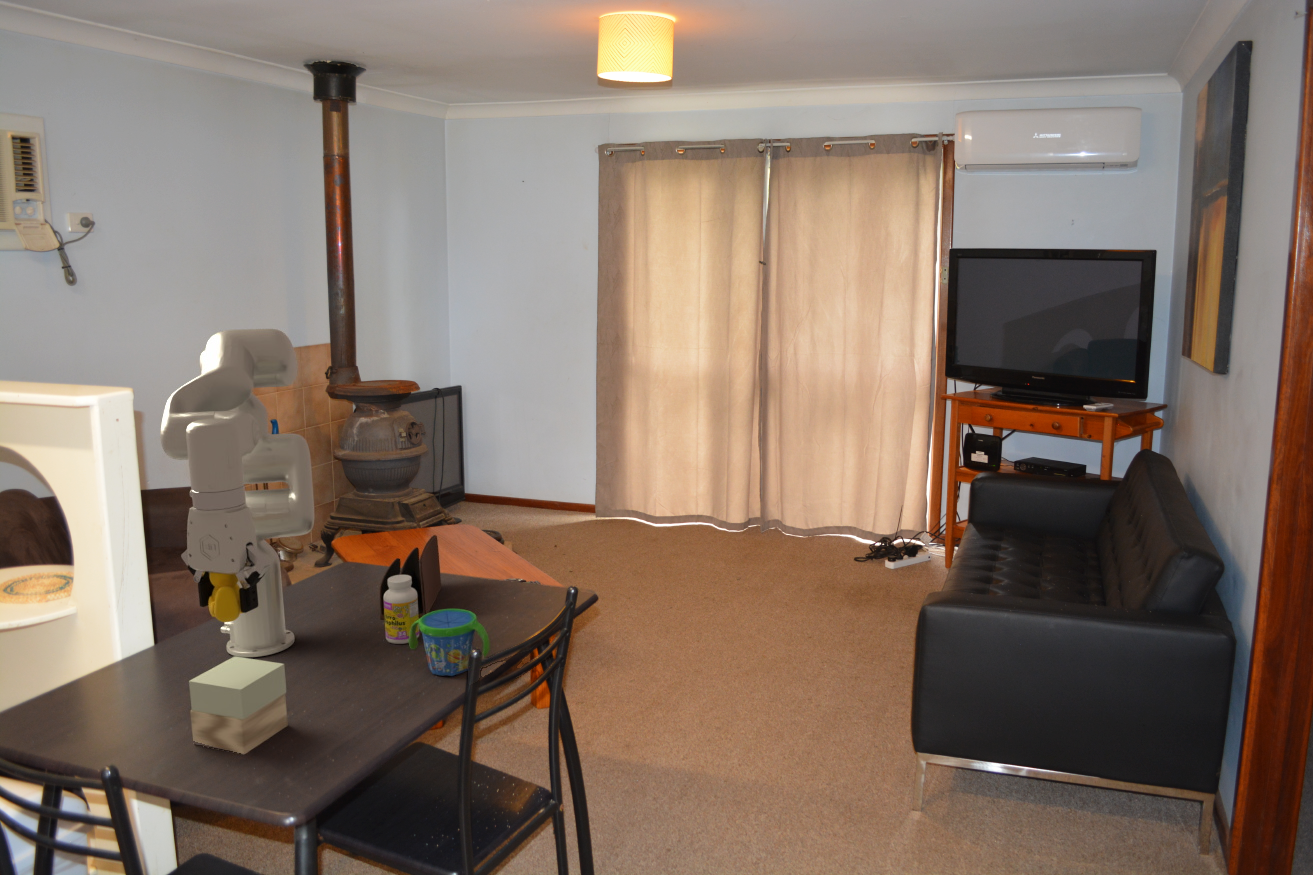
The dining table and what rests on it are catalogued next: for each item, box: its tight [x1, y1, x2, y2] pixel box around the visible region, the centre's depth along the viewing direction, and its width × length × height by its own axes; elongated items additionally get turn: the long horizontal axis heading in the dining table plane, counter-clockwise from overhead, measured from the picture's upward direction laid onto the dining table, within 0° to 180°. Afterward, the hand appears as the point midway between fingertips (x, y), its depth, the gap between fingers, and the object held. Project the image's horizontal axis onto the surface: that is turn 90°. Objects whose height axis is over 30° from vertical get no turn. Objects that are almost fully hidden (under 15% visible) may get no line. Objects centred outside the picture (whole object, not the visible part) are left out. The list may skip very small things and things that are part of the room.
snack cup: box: [408, 608, 491, 677], centre depth 181 cm, size 16×10×10 cm
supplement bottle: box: [384, 575, 420, 645], centre depth 196 cm, size 7×7×13 cm
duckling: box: [208, 572, 242, 623], centre depth 153 cm, size 11×5×10 cm, turn 23°
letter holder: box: [378, 534, 442, 620], centre depth 216 cm, size 10×20×14 cm, turn 3°
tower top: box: [188, 655, 287, 719], centre depth 156 cm, size 10×10×5 cm
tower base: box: [189, 693, 289, 755], centre depth 157 cm, size 10×10×6 cm
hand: (229, 606), depth 153 cm, fingers closed on duckling, 7 cm apart
